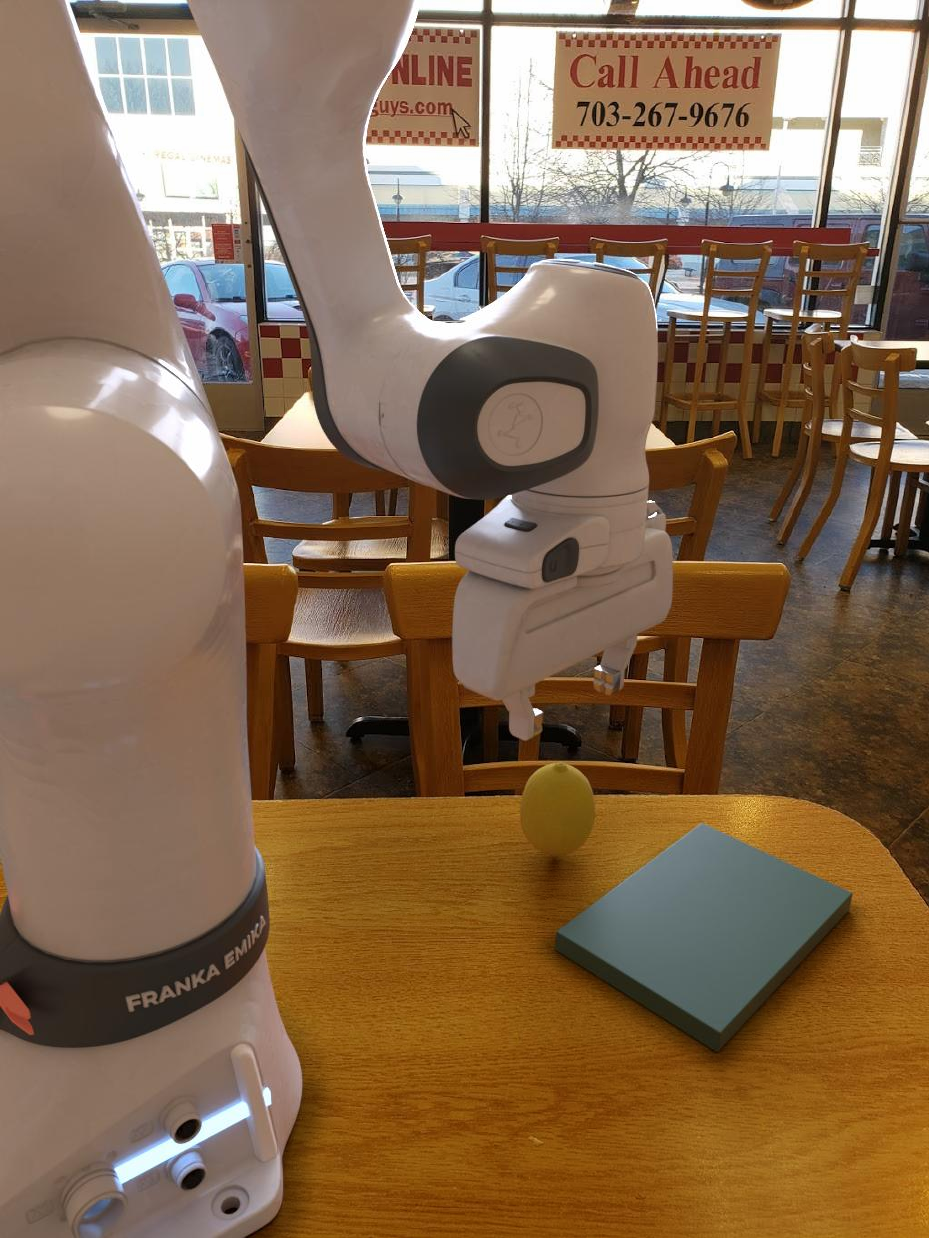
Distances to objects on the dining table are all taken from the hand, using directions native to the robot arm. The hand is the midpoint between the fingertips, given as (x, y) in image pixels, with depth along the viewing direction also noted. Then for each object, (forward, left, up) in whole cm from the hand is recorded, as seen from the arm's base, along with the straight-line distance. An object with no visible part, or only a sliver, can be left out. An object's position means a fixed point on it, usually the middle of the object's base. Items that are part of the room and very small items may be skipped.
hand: (568, 711), depth 67 cm
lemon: (0, 0, -12) cm, 12 cm away
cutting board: (+1, -12, -12) cm, 17 cm away
